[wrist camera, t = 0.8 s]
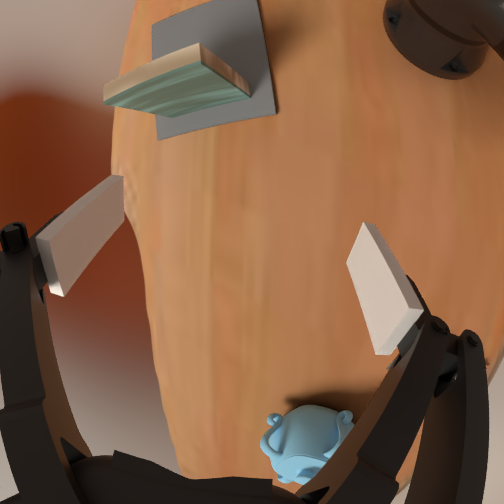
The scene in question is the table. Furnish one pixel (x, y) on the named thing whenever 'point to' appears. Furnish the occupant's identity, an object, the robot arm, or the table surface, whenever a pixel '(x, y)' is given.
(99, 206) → the robot arm
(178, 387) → the table surface
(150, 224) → the table surface
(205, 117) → the mat
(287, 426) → the decorative pot
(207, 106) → the plaque
